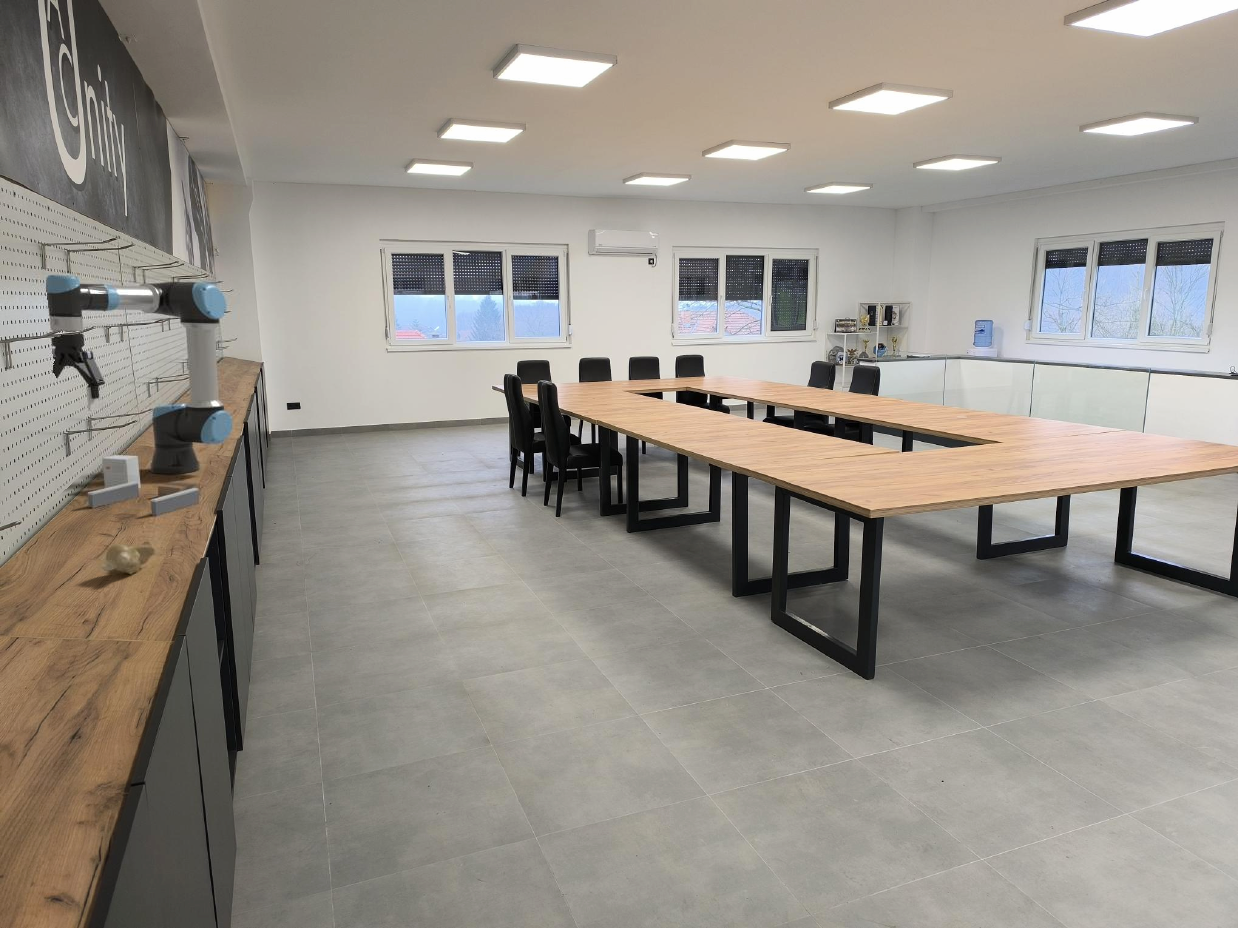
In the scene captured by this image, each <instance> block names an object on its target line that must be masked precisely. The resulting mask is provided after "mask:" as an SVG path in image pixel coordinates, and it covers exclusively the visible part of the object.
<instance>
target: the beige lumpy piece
mask: <svg viewBox="0 0 1238 928" xmlns="http://www.w3.org/2000/svg"><path fill="white" fill-rule="evenodd" d="M155 550H156V549H155V547H154V545H153V544H152V543H151V542H150V541H149V540H145V541H144V542H142V543H139V544H138V545H136V546H127V545H125V544H122V543H117V544H116V543H115V544H113V545H112V546H111V547H109V548H108V550H107V551H106V554H105V562H104V563H103V564H102V565H101V566H100V568H101V569H102V570H103V571H106V572H109V571H113V570H116V571H117V572H121V573H127V574H130V575H133V574H135V573H138V572H139V571H140V569H141V566H142V565H145V564H146V563H147V562H148V561H149V559H150V558H151V557H152V556H154V554H155Z"/></svg>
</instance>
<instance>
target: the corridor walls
mask: <svg viewBox="0 0 1238 928" xmlns="http://www.w3.org/2000/svg"><path fill="white" fill-rule="evenodd" d="M139 491H140V489H139V488H138V482H130V483H126V484H122V485H117V486H113V487H109V488H105V487H104V488H102V489H97V490H93V491H88V492H87V499H88V500H87V501H88V508H89V507H97V508H99V507H98V506H101V505H105V506H107V504H109V505H113V504H115V503H114V502H116V503H119V501H120V502H122V501H123V502H124V501H127V500H126V499H128V500H130V499H131V498H132V499H135V498H138V497H140V492H139ZM199 497H200V495H199V493H198V488H192V489H188V490H185V491H181V492H177V493H174V494H170V495H166V496H163V497H156V498H152V499H150V509H151V516H153V517H159V516H161V515H165V514H167V513H171V512H174V511H178V510H181V509H184V508H188V507H191V506H194V505H198V504H200V498H199ZM132 499H131V500H132ZM101 507H102V506H101Z"/></svg>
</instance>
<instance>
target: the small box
mask: <svg viewBox="0 0 1238 928" xmlns="http://www.w3.org/2000/svg"><path fill="white" fill-rule="evenodd" d="M101 459H102V460H101V461H102V470H103V480H104V489H105V488H109V487H113V486H117V485H122V484H126V483H130V482H138V488H139V490H140V489H141V479H140V477H141V476H140V468H139V467H140V466H139V457H138V455H124V454H123V455H121V454H114V455H109V456H105V457H103V458H101Z"/></svg>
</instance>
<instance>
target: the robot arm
mask: <svg viewBox="0 0 1238 928" xmlns="http://www.w3.org/2000/svg"><path fill="white" fill-rule="evenodd" d="M45 279H46V280H45V281H46V292H47V300H48V308H47V309H48V317H49V327H50V328H49V329H50V331H51V332H52V333H54V332H58V331H65V332H76V331H81V334H75V335H61V336H60V337H54V338H51V337H50V339H51V340H50V341H51V346H52V347H55V348H51V349H52V354H53V358H54V359H55V361H54V363H53V364H54V365H53V373H54V374H55V376H56V378H57V379H58V378H59V377H60V375H61V373H62V372H63V370H64V369H65V367H73V368H74V369H75V370H77V372H78V374H79V375H80V376H81V377H82V378H83V380H84V382H85V383H86V384H87V386H86V396H87V407H88V409H87V410H88V411H89V412H91V411H92V412H93V411H99V410H100V407H99V406H100V405H99V403H100V402H99V398H100V389H99V387H100V386H103V385H105V384H106V382H105V379H104V377H103V375H102V373H101V371H100V368H99V367H98V364H97V362H96V361H95V358H94V352H93V351H92V350H83V347H84V346H85V334H83V333H82V332H83V331H84V323H83V313H82V312H84V311H89V312H94V311H95V312H98V311H99V312H108V311H109V312H110V311H114V310H119V311H120V310H122V311H123V310H124V311H141V312H143V313H144V314H145V313H146V314H157V315H164V316H169V317H175V318H176V317H177V318H178V317H179V320H180V324H181V326H183V327H184V328H185V330H186V331H185V337H186V348H187V365H188V367H187V368H188V382H189V383H188V384H189V398H190V399H189V401H188V402H187V403H174V404H165V405H159V406H155V407H154V408H153V409H152V418H151V419H152V427H153V428H152V429H153V430H152V431H153V439H154V441H153V442H154V452H153V455H152V460H151V463H150V465H149V466H150V467H149V468H150V472H151V473H153V474H158V475H175V474H186V473H193V472H196V471H199V470H200V468H201V467H200V466H201V465H200V461H199V460H198V458H197V454H196V452H195V450H194V443H198V444H203V445H204V444H205V445H219V444H222V443H223V442H225V441H226V440H227V439H228V438H229V436H230V435H231V433H232V430H233V426H234V425H233V424H234V423H233V418H232V415H230V413H229V412H227V411H226V410H225V406H224V403H223V402H222V401H221V400H220V398H219V397H220V396H219V382H218V381H219V380H218V364H217V346H216V328H217V327H218V326H220V319H222V318H223V317H224V316H225V313H226V312H227V309H228V308H227V300H226V297H225V295H224V293H223V292H222V290H221V289H220V288H219V287H218V286H216V285H215V284H213V283H207V282H202V281H200V282H199V281H198V282H196V281H195V282H193V281H166V282H155V283H141V284H140V285H121V284H120V285H118V284H117V285H116V284H104V283H80V279H79V277H78V276H76V275H62V274H61V275H59V274H50V275H47V276H46V278H45ZM82 330H83V331H82Z"/></svg>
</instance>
